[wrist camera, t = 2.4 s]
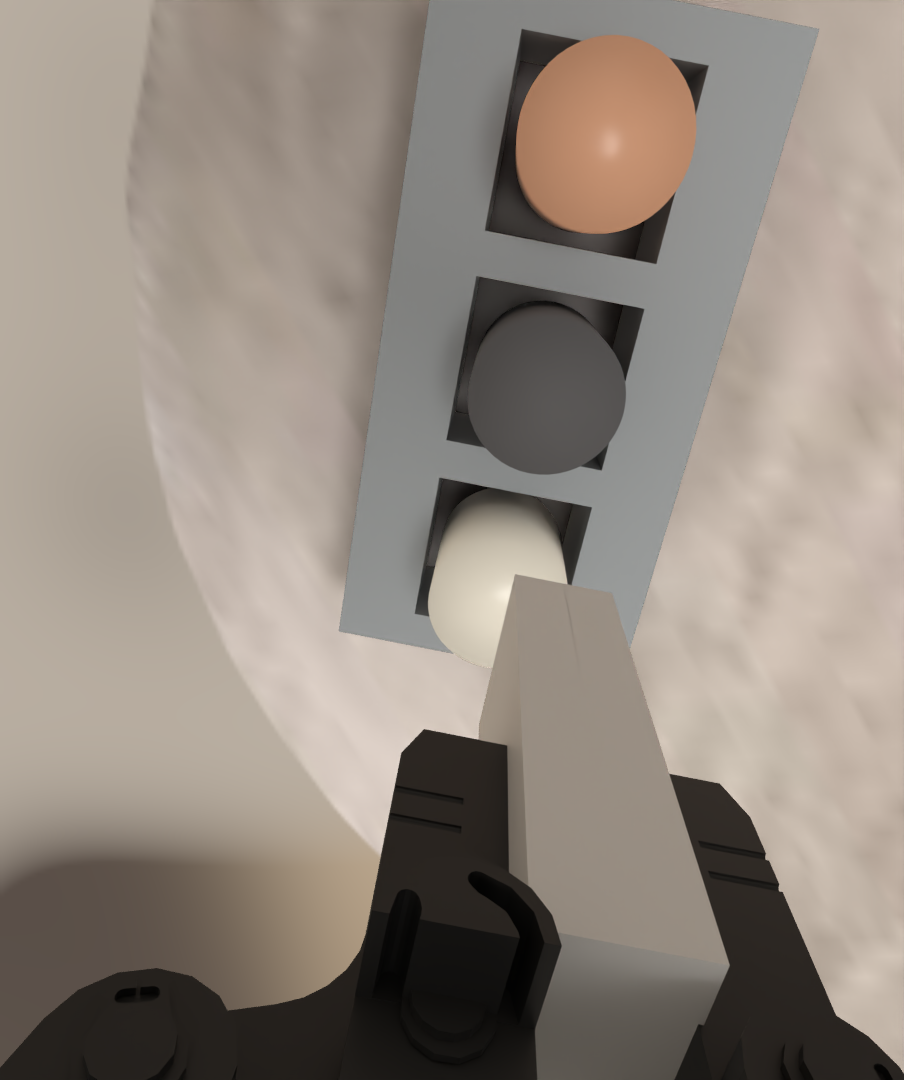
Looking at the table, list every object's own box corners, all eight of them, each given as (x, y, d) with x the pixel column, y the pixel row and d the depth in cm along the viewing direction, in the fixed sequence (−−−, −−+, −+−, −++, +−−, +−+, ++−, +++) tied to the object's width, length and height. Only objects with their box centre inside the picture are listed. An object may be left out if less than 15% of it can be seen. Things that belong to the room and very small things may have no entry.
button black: (489, 289, 30) (483, 303, 24) (619, 315, 30) (644, 334, 24) (464, 418, 31) (454, 458, 26) (587, 442, 31) (603, 487, 26)
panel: (448, -2, 29) (436, -47, 24) (769, 61, 29) (819, 28, 24) (360, 582, 38) (338, 631, 33) (605, 629, 38) (618, 685, 33)
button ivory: (453, 477, 32) (441, 528, 27) (572, 500, 32) (585, 556, 27) (432, 585, 34) (417, 654, 29) (545, 607, 34) (552, 680, 29)
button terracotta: (532, 62, 27) (537, 18, 21) (676, 91, 27) (719, 54, 21) (502, 218, 29) (500, 215, 23) (637, 245, 29) (667, 248, 23)
